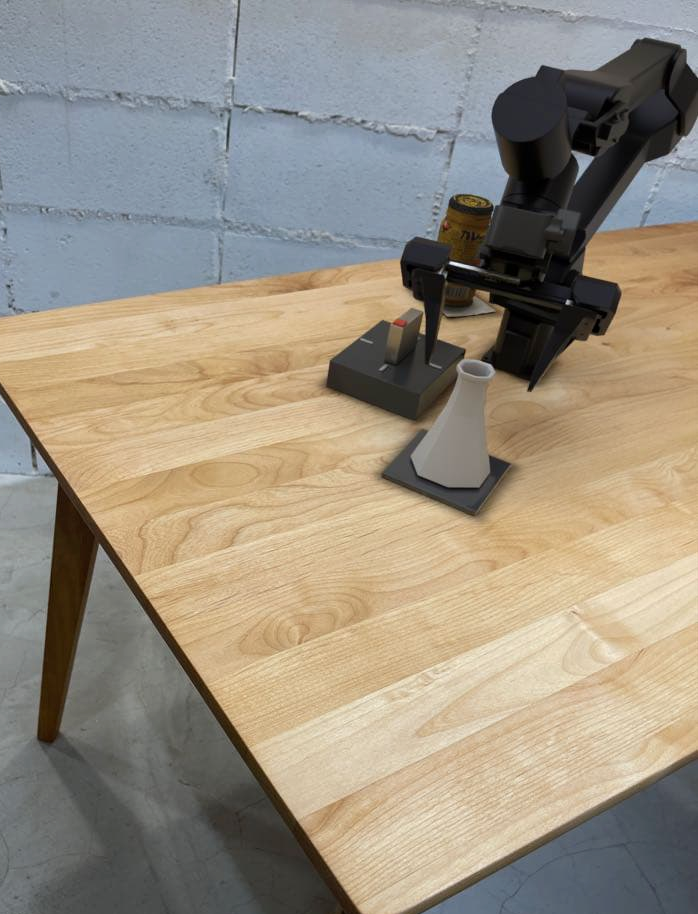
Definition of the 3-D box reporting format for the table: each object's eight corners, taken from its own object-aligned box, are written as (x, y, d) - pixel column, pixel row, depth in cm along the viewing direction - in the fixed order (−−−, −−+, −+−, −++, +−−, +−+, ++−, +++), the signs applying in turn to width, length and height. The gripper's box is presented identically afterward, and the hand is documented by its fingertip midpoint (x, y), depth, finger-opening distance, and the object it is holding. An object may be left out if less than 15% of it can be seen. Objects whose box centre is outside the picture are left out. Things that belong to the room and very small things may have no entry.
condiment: (456, 283, 109) (479, 188, 101) (495, 312, 103) (522, 214, 95) (409, 289, 106) (429, 192, 98) (446, 319, 100) (470, 218, 93)
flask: (488, 498, 73) (520, 398, 66) (406, 481, 73) (429, 380, 67) (490, 452, 78) (520, 356, 72) (413, 437, 79) (436, 340, 72)
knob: (404, 343, 88) (412, 305, 85) (416, 347, 87) (424, 309, 84) (383, 360, 84) (390, 321, 81) (395, 365, 84) (403, 326, 81)
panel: (377, 344, 93) (382, 318, 91) (460, 374, 90) (467, 347, 88) (325, 386, 85) (329, 358, 83) (414, 421, 82) (420, 392, 80)
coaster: (421, 433, 80) (422, 428, 80) (510, 467, 77) (511, 463, 77) (380, 476, 74) (381, 472, 74) (474, 516, 71) (476, 511, 71)
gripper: (427, 137, 68) (367, 316, 67) (661, 186, 64) (601, 376, 64) (430, 206, 79) (378, 361, 78) (630, 252, 75) (578, 414, 75)
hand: (477, 376), depth 73 cm, fingers open, 9 cm apart
